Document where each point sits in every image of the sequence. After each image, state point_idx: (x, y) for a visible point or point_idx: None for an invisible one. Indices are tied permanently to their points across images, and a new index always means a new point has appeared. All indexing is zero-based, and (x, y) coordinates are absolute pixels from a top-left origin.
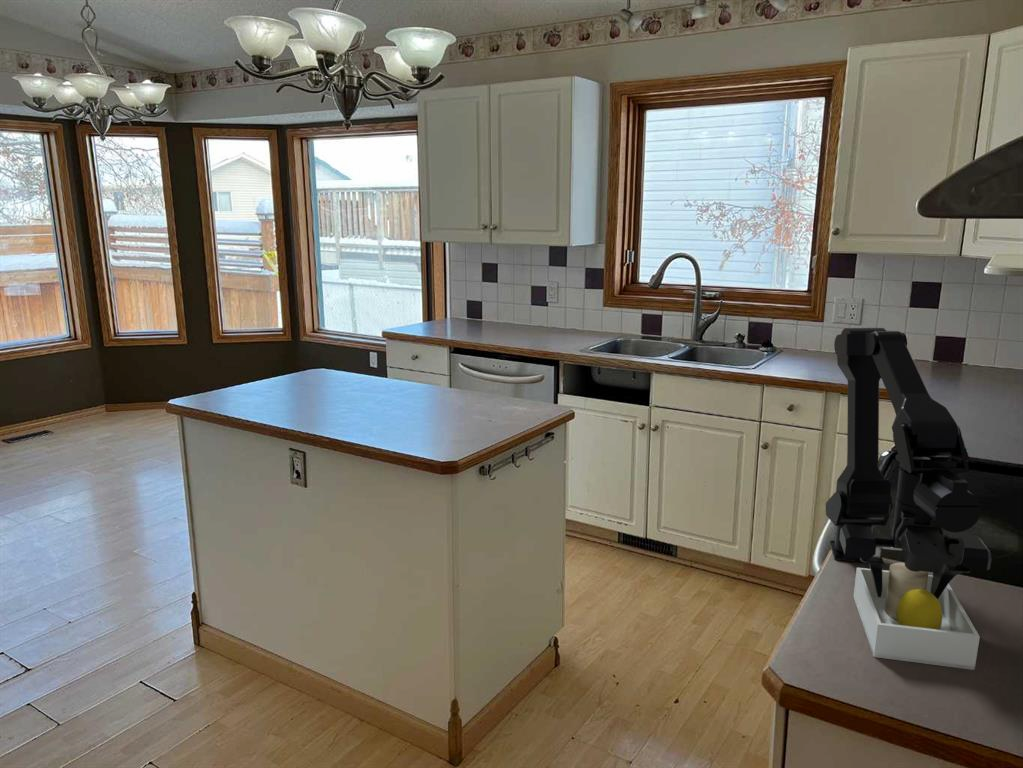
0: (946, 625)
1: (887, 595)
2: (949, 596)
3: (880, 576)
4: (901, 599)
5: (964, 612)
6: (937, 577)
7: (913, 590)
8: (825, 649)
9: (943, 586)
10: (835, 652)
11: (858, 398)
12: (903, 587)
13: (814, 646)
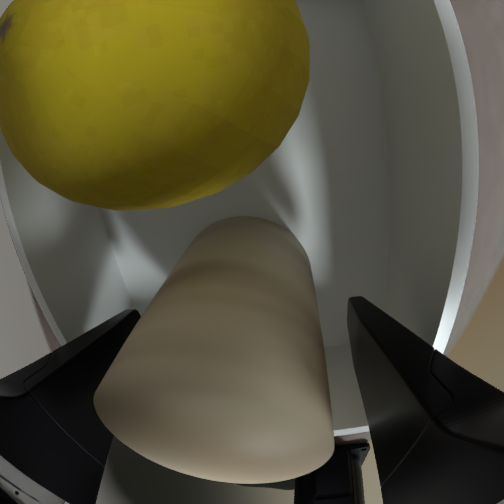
0: (118, 245)
1: (318, 313)
2: (78, 332)
3: (412, 371)
4: (292, 24)
5: (2, 193)
6: (78, 401)
7: (127, 25)
8: (480, 19)
9: (59, 352)
10: (459, 4)
11: None
12: (249, 319)
13: (500, 33)
